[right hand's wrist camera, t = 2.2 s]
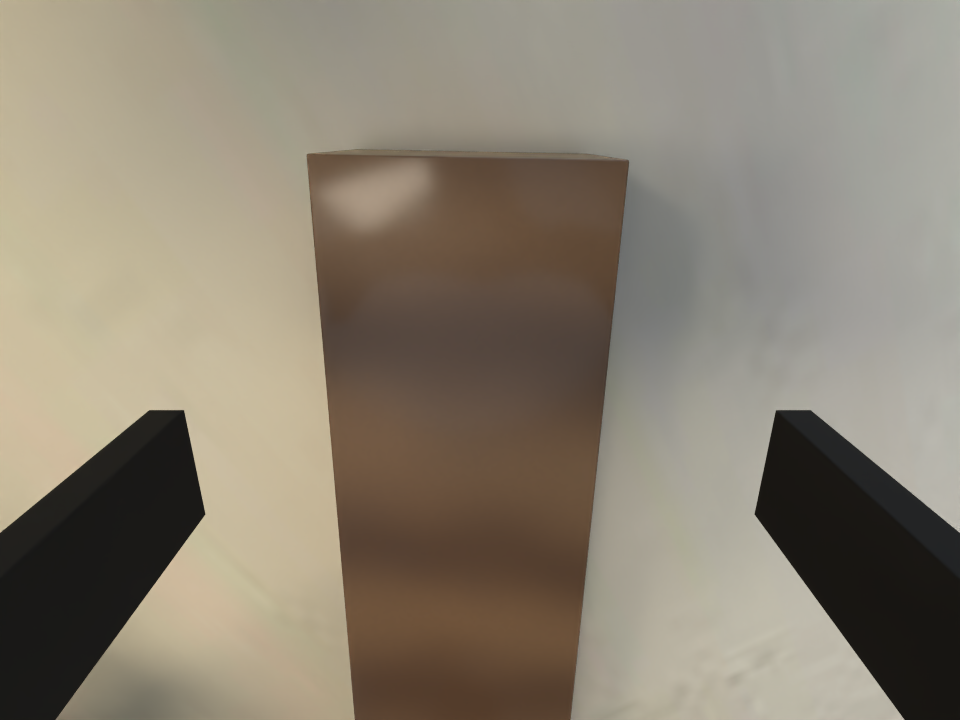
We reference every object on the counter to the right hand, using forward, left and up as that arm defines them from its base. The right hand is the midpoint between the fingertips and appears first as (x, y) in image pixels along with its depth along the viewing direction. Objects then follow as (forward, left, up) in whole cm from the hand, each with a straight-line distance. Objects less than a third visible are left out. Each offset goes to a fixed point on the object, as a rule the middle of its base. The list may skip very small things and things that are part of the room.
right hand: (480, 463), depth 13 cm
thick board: (+8, -26, -15) cm, 31 cm away
